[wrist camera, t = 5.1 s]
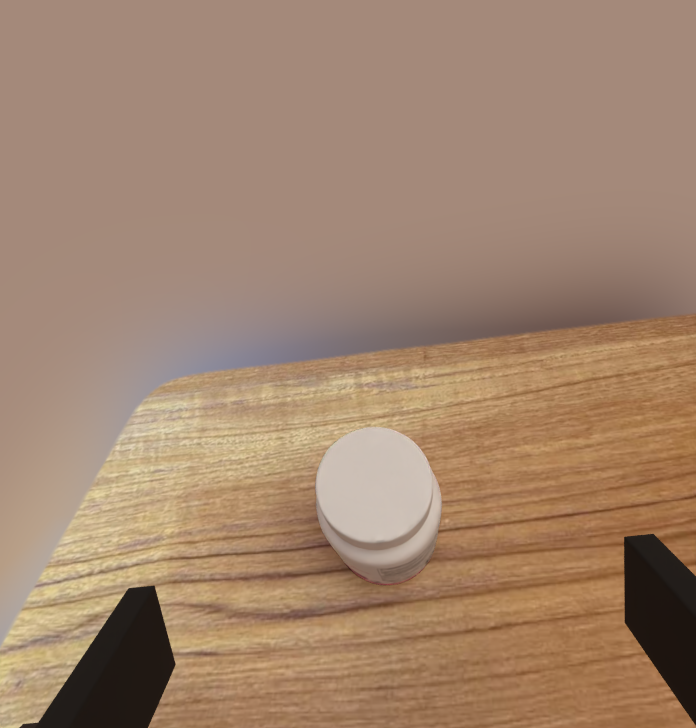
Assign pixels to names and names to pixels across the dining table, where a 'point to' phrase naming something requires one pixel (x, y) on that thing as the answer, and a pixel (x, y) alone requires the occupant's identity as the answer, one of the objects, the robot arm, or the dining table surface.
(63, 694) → the robot arm
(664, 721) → the dining table surface
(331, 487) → the pill bottle
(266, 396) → the dining table surface
